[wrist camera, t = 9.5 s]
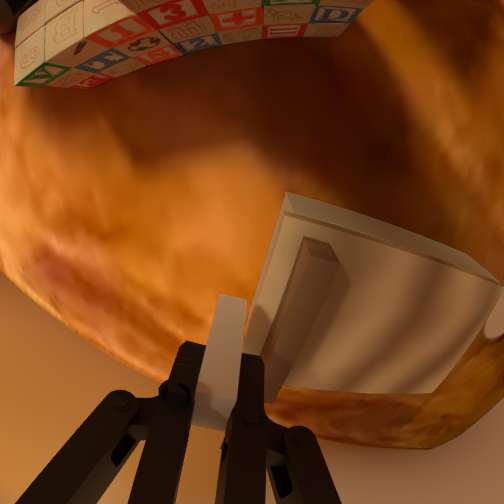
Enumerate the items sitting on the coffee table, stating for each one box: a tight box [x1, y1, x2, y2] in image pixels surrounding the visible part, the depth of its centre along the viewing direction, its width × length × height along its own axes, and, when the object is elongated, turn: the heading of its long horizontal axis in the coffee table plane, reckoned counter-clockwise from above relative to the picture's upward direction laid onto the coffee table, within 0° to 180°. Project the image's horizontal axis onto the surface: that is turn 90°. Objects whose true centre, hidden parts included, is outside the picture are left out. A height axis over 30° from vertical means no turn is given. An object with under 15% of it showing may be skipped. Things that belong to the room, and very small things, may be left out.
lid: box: [242, 211, 504, 403], centre depth 16 cm, size 20×13×4 cm, turn 76°
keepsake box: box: [245, 191, 500, 334], centre depth 21 cm, size 20×13×6 cm, turn 76°
